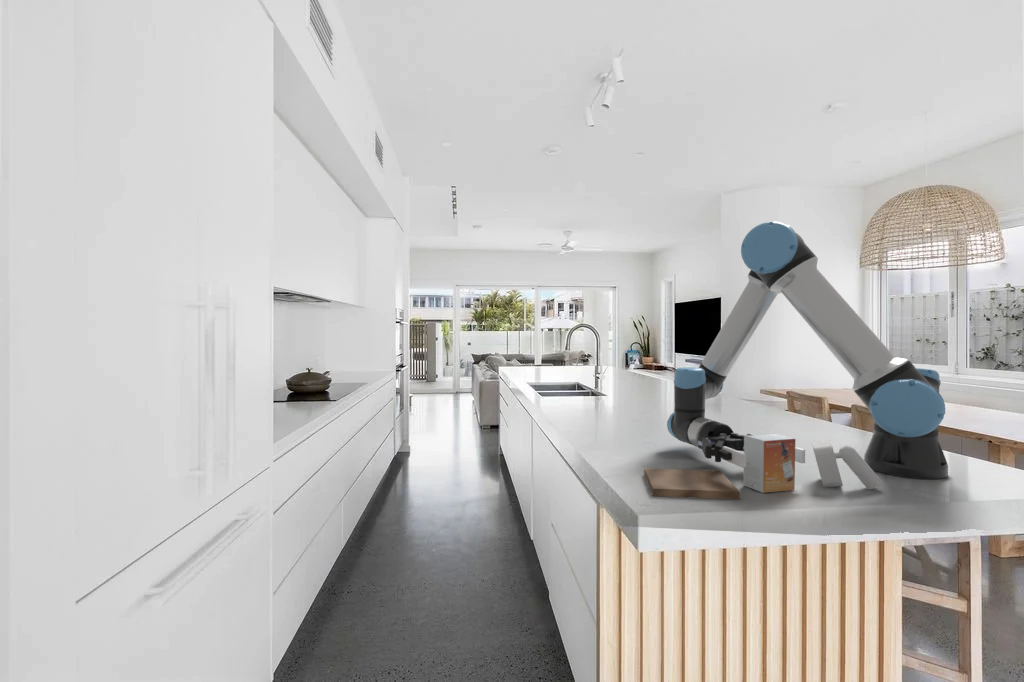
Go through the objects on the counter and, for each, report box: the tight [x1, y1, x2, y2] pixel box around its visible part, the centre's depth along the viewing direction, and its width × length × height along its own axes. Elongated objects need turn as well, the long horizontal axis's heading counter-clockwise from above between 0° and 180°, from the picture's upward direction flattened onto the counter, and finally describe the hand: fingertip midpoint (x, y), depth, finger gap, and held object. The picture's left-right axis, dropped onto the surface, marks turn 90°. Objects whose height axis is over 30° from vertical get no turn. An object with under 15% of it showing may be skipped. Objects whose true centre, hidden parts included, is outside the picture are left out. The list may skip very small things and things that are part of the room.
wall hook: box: [811, 439, 883, 490], centre depth 105 cm, size 8×10×10 cm
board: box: [643, 467, 741, 500], centre depth 105 cm, size 16×14×2 cm
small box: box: [743, 432, 796, 494], centre depth 104 cm, size 8×6×10 cm
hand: (774, 458), depth 102 cm, fingers open, 13 cm apart
